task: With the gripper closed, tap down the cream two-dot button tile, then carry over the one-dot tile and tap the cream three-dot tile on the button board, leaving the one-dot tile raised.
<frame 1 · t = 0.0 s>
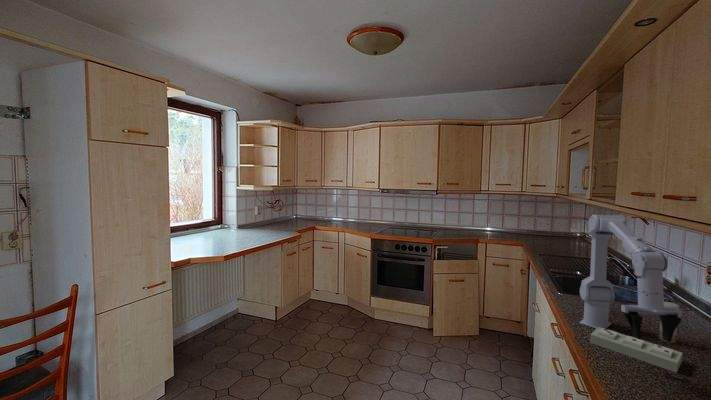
hand: (651, 339, 96), 11 cm above the counter, tool pointing down, fingers open, 7 cm apart
sprinkles bottle: (666, 340, 116), on the counter
button board: (633, 351, 109), on the counter
tile two pips: (662, 351, 103), point 3 cm above the counter, slide at 0.0 cm
tile three pips: (608, 334, 114), point 3 cm above the counter, slide at 0.0 cm
tile one pip: (633, 342, 109), point 3 cm above the counter, slide at 0.0 cm
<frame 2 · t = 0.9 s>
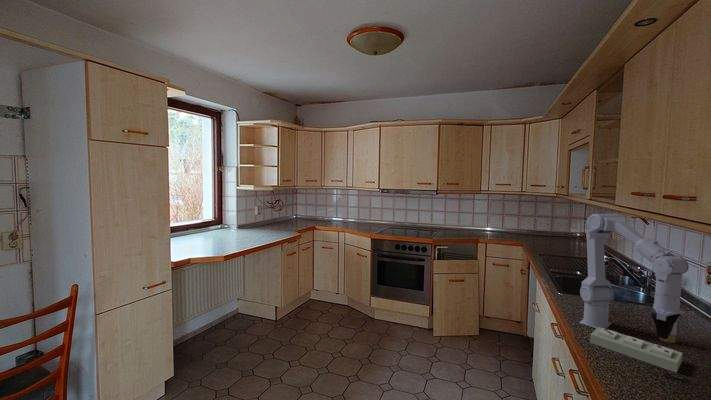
hand: (663, 335, 103), 8 cm above the counter, tool pointing down, fingers open, 4 cm apart
nothing on the counter moved.
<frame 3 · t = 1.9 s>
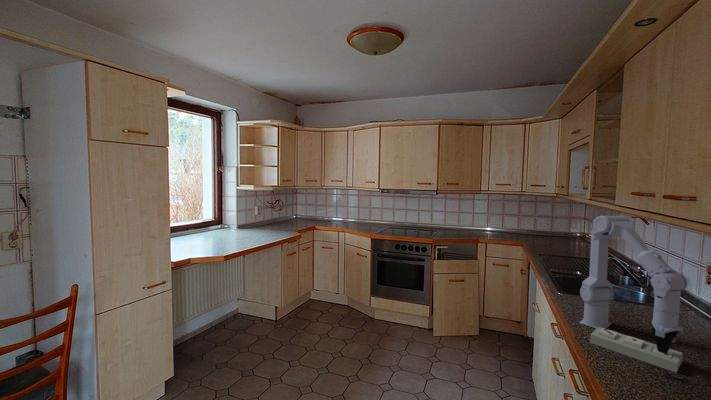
hand: (662, 351, 103), 3 cm above the counter, tool pointing down, fingers closed, pressing on tile two pips
tile two pips: (662, 354, 103), point 2 cm above the counter, slide at 0.9 cm, touching gripper
everything else where it was.
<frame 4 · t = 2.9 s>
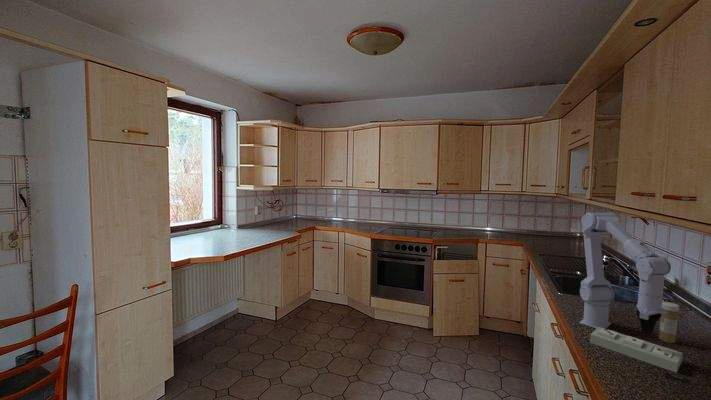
hand: (646, 334, 106), 7 cm above the counter, tool pointing down, fingers closed
tile two pips: (662, 354, 103), point 2 cm above the counter, slide at 1.0 cm, touching button board
everything else where it was.
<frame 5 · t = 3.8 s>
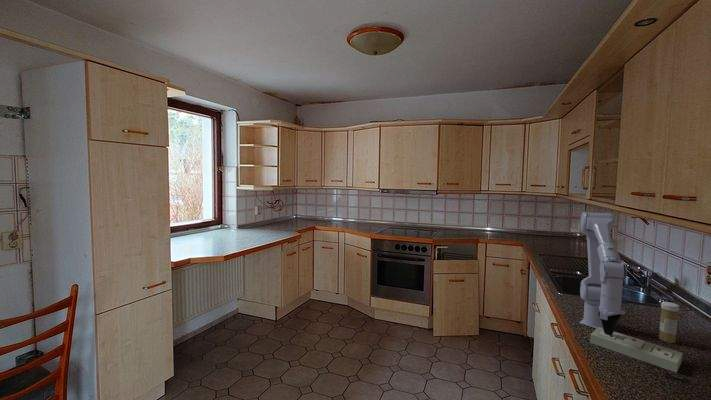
hand: (608, 333, 114), 3 cm above the counter, tool pointing down, fingers closed, pressing on tile three pips
tile three pips: (608, 336, 114), point 2 cm above the counter, slide at 0.8 cm, touching gripper
everything else where it was.
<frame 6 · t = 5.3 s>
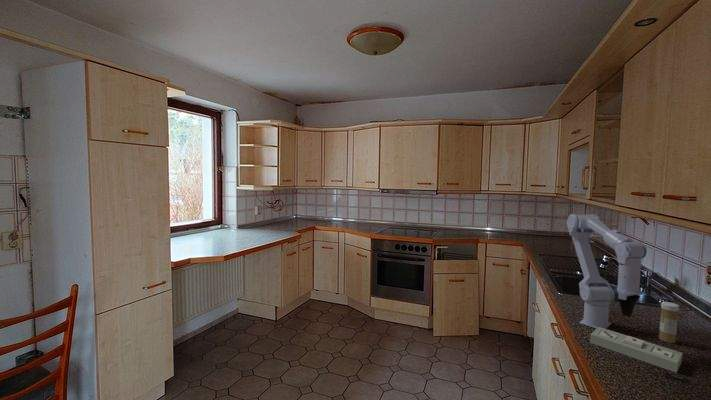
hand: (626, 315, 113), 10 cm above the counter, tool pointing down, fingers closed
tile three pips: (608, 337, 114), point 2 cm above the counter, slide at 1.0 cm
everything else where it was.
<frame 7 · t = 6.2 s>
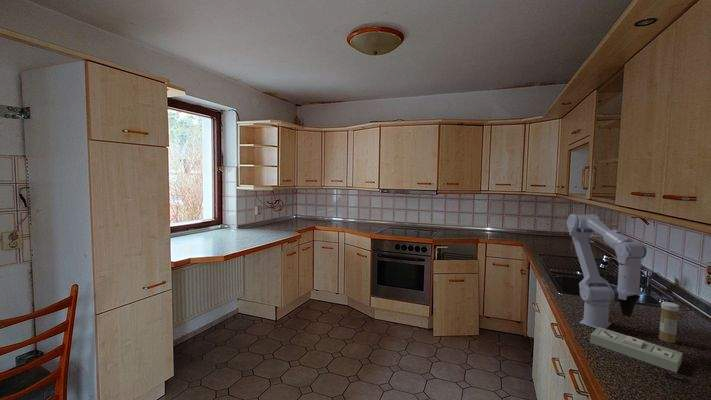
hand: (626, 315, 113), 10 cm above the counter, tool pointing down, fingers closed
nothing on the counter moved.
at the end: tile two pips slide at 1.0 cm; tile three pips slide at 1.0 cm; tile one pip slide at 0.0 cm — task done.
